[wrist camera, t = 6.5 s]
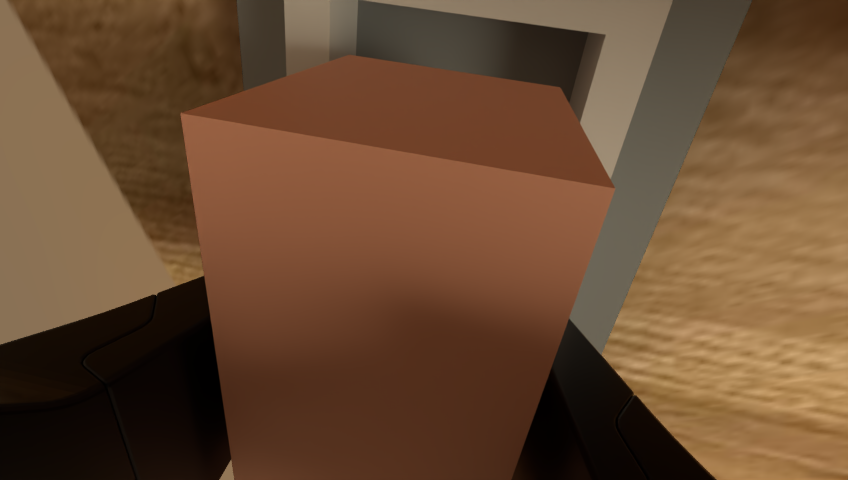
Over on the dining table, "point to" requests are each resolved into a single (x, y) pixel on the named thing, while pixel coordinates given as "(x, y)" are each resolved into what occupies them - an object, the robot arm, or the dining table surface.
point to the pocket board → (548, 65)
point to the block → (389, 265)
